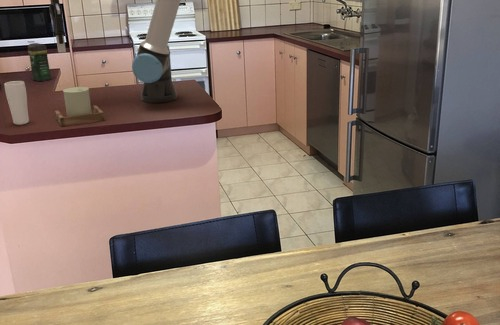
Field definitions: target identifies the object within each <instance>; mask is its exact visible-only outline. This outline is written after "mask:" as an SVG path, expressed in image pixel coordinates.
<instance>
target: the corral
mask: <svg viewBox="0 0 500 325" xmlns="http://www.w3.org/2000/svg"><path fill="white" fill-rule="evenodd" d="M92 110H93V112H92V114H84V115H77V116H70V117H67V116H63V115H62V114H61V112H60V110H59V109H56V110H54V117H55V119H56V121H57V122H58V124H59V125H60V127H61V128H62V127H69V126H70V127H71V126H75V125H83V124H84V125H85V124H90V123H97V122H103V121H106V120H105V119H106V118H105V113H104V111H103V110H102V109H100V107H98V105H96V104H95V105H92Z"/></svg>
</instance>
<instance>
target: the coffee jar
mask: <svg viewBox="0 0 500 325" xmlns="http://www.w3.org/2000/svg"><path fill="white" fill-rule="evenodd" d="M27 52H28V56H29V62H30V69H31V76H32V80H34V81H37V82H46V81H49V80H52V76H51V70H50V65H49V64H50V63H49V58H48V49H47V46H46V45H45V44H43V43H38V42H33V43H29V44H28V45H27Z"/></svg>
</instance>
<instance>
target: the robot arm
mask: <svg viewBox="0 0 500 325" xmlns="http://www.w3.org/2000/svg"><path fill="white" fill-rule="evenodd" d="M180 4H181V0H156V1H155V5H154V8H153V11H152V15H151V18H150V22H149V25H148V29H147V32H146V36H145V40H143V41H141V42H140V43H139V46H138V49H137V54H136V56H135V57H134V59H133V61H132V65H131V70H132V73H133V75H134V76H135V78H136V79H137V80H139V81H140V82H143V85H142V90H141V93H140V99H141V101H142V102H143V103H149V104H150V103H151V104H152V103H154V104H155V103H156V104H158V103H159V104H160V103H167V102H169V103H170V102H172V101H175V100H177V98H178V94H177V90H176V87H175V85H174V83H173V79H172V66H171V50H170V46H169V41H170V38H171V34H172V31H173V28H174V23H175V21H176V17H177V14H178V10H179V8H180ZM48 7H49V10H50V14H51V20H52V24H53V32H54V36H55V38H56V39H55V41H56V45H57V52H58V53H66V52H67V48H66V42H65V30H64V29H65V28H64V19H63V6H62V4H60V0H50V4H49V6H48Z"/></svg>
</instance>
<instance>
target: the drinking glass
mask: <svg viewBox="0 0 500 325" xmlns="http://www.w3.org/2000/svg"><path fill="white" fill-rule="evenodd" d="M3 86H4V91H5V97H6V99H7V102H8V107H9V110H10V113H11V114H10V115H11V117H12V122H13V124H14V125H19V126H20V125H21V126H22V125H25V124H28V123H29V122H30V118H29V110H28V97H27V90H26V89H27V88H26V83H25V81H24V80H15V81H14V80H13V81H11V80H10V81H7V82H5V83H4V84H3Z"/></svg>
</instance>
